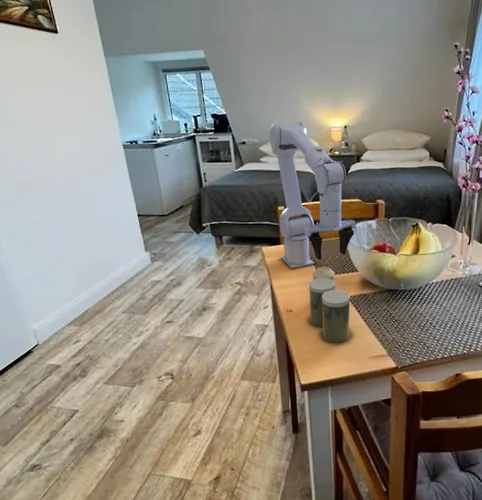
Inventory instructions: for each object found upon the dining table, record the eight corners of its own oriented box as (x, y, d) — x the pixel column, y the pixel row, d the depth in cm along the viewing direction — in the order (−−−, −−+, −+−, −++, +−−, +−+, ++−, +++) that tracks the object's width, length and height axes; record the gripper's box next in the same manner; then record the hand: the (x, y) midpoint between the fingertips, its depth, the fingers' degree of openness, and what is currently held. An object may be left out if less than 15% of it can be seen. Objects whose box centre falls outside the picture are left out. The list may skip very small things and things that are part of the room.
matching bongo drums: (306, 316, 96) (305, 280, 92) (328, 311, 98) (328, 275, 94) (329, 345, 85) (329, 305, 81) (354, 338, 87) (354, 299, 83)
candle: (327, 310, 99) (326, 274, 95) (309, 304, 102) (308, 269, 98) (338, 301, 103) (338, 267, 99) (321, 295, 106) (321, 262, 102)
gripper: (311, 216, 97) (312, 265, 102) (361, 208, 102) (360, 256, 107) (301, 209, 103) (302, 256, 108) (348, 202, 108) (348, 247, 113)
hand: (330, 255), depth 108 cm, fingers open, 7 cm apart
